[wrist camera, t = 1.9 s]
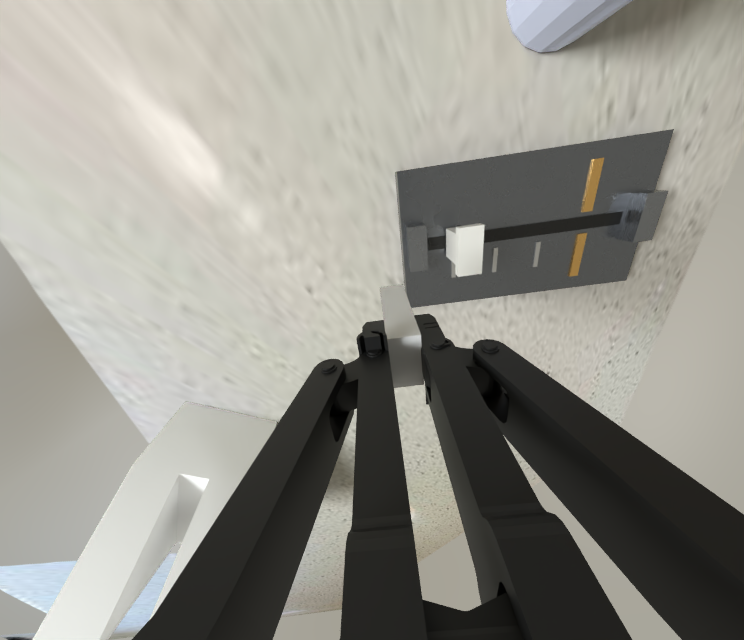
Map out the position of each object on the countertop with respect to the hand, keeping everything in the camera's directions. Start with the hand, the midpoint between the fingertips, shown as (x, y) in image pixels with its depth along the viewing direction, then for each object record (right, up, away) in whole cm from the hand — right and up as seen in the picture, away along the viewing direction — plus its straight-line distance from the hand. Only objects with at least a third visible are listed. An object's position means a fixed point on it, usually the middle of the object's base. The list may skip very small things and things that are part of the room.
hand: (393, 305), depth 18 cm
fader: (+8, +8, +13) cm, 18 cm away
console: (+16, +10, +15) cm, 24 cm away
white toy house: (-29, -25, +33) cm, 50 cm away
